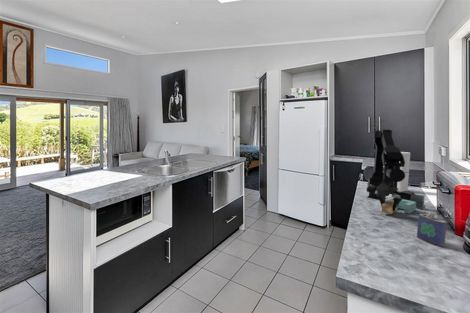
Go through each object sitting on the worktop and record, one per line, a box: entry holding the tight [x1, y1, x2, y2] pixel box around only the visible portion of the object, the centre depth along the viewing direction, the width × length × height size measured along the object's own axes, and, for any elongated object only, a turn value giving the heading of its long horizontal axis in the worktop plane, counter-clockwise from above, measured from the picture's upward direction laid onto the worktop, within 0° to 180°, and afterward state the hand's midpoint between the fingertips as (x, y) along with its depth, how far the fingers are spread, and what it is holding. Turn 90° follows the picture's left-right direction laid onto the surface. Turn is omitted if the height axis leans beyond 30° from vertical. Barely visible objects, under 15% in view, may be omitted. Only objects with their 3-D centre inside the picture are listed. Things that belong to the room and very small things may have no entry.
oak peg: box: [381, 200, 399, 215], centre depth 116 cm, size 4×10×4 cm, turn 132°
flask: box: [416, 212, 448, 248], centre depth 87 cm, size 9×3×11 cm, turn 15°
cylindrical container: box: [397, 151, 411, 192], centre depth 156 cm, size 7×7×25 cm
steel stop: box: [391, 191, 426, 211], centre depth 127 cm, size 14×4×7 cm, turn 35°
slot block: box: [385, 196, 417, 214], centre depth 121 cm, size 11×8×4 cm
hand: (388, 209), depth 114 cm, fingers closed on oak peg, 4 cm apart
